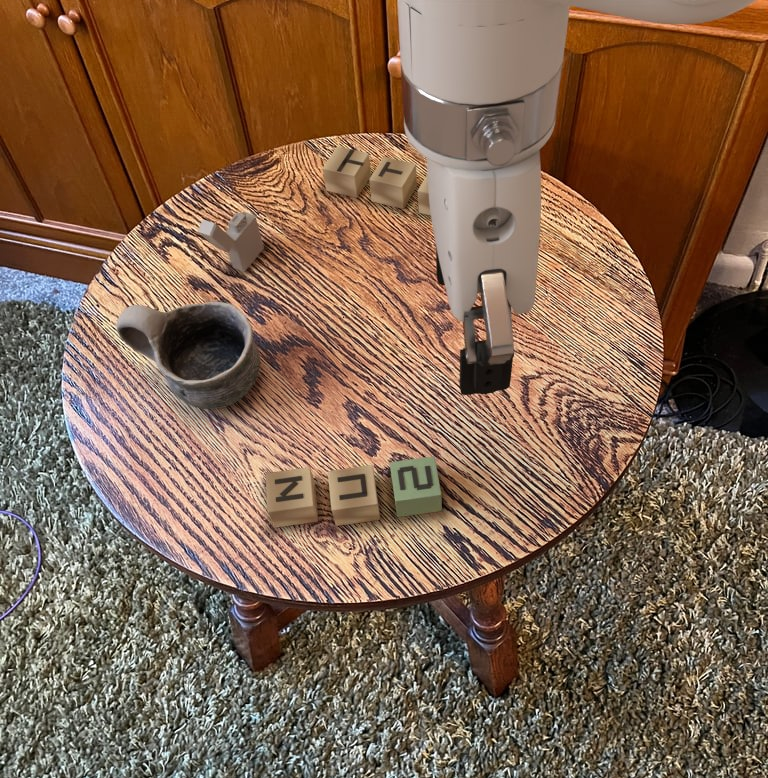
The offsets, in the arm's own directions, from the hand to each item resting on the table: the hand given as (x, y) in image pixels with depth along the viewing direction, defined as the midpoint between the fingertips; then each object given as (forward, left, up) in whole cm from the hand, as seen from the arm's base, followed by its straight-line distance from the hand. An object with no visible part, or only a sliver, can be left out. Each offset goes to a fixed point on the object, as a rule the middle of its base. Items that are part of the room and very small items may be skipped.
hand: (471, 332), depth 52 cm
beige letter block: (+7, -42, -20) cm, 47 cm away
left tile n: (+16, 0, -20) cm, 25 cm away
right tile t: (+2, -39, -20) cm, 43 cm away
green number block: (+5, +1, -20) cm, 20 cm away
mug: (+24, -15, -20) cm, 34 cm away
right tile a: (-3, -36, -20) cm, 41 cm away
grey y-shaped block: (+20, -31, -20) cm, 42 cm away
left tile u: (+10, +1, -20) cm, 22 cm away
